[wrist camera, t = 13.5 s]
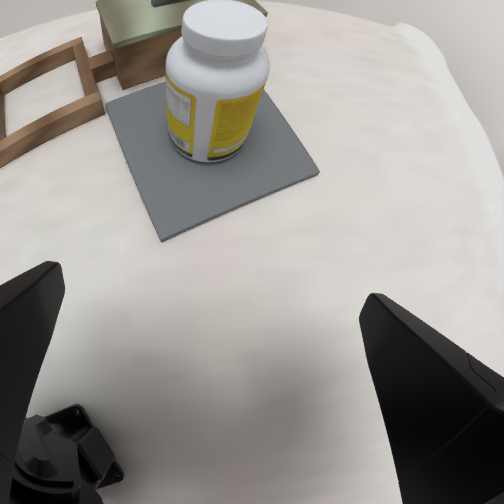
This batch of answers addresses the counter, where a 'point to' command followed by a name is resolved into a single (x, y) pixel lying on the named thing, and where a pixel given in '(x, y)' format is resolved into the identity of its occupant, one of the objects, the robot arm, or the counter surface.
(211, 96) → the pill bottle
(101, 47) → the counter surface
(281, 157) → the slate mat
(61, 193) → the counter surface
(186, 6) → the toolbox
